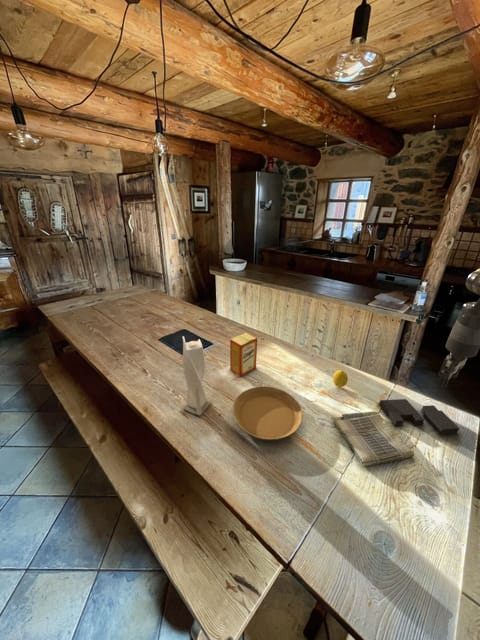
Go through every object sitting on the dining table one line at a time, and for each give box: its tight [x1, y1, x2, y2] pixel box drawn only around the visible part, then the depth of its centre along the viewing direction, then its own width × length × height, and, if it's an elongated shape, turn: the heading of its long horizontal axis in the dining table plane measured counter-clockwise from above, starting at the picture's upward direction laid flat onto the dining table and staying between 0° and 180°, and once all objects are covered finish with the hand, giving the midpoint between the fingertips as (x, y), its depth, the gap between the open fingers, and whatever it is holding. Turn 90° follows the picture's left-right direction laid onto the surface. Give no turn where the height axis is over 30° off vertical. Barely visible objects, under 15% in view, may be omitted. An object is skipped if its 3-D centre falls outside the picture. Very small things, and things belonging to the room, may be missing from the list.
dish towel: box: [333, 410, 415, 467], centre depth 85 cm, size 19×18×3 cm
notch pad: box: [378, 398, 425, 427], centre depth 95 cm, size 10×10×2 cm
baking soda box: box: [229, 332, 258, 378], centre depth 115 cm, size 10×6×16 cm
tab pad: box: [420, 405, 460, 436], centre depth 92 cm, size 6×10×2 cm, turn 4°
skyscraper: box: [182, 336, 212, 417], centre depth 92 cm, size 8×8×28 cm
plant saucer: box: [232, 385, 303, 441], centre depth 93 cm, size 24×24×3 cm
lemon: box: [332, 369, 349, 388], centre depth 107 cm, size 6×6×8 cm
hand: (446, 381), depth 85 cm, fingers open, 8 cm apart
